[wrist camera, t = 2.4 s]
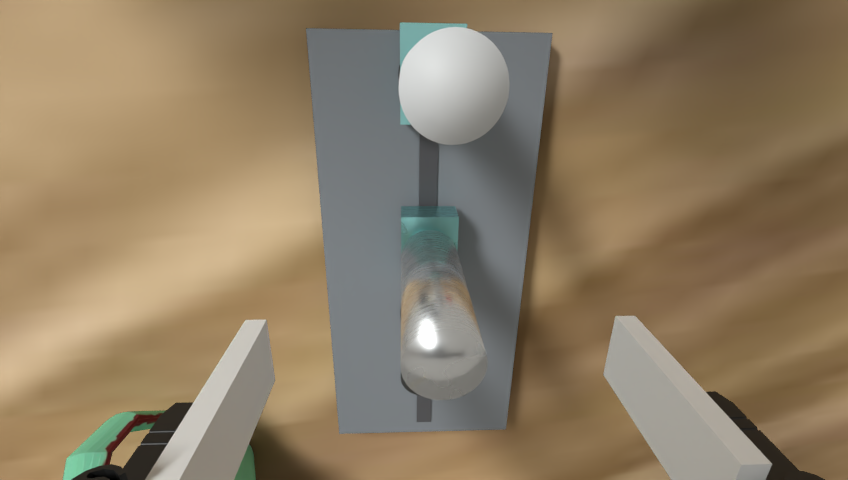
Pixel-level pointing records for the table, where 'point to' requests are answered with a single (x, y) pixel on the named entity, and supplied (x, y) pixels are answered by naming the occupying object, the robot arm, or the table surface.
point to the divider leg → (437, 308)
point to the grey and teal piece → (423, 199)
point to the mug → (114, 432)
